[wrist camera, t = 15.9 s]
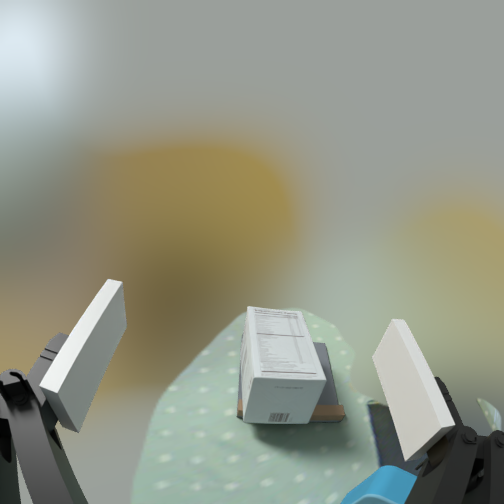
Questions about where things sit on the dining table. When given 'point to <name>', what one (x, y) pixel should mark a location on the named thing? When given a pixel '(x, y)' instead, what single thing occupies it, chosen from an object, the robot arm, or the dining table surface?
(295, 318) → the supplement box
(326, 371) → the topple mat
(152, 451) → the dining table surface
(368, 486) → the data package
